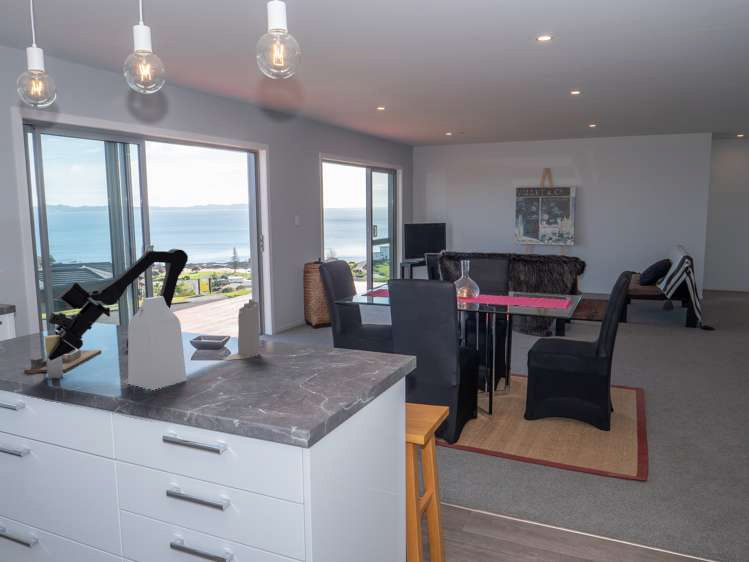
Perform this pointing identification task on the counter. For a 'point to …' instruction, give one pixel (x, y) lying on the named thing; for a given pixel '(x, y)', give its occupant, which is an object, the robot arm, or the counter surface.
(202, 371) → the counter surface
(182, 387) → the counter surface
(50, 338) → the block
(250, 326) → the grey stepped bookend
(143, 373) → the milk
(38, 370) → the shaft board
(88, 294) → the robot arm
